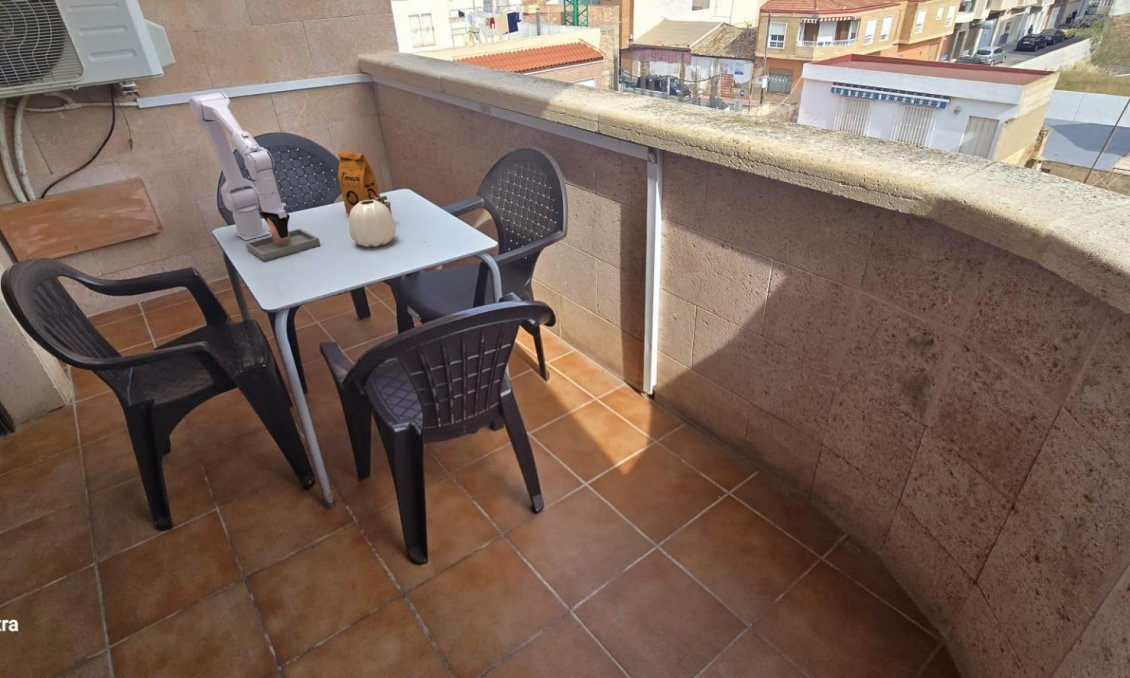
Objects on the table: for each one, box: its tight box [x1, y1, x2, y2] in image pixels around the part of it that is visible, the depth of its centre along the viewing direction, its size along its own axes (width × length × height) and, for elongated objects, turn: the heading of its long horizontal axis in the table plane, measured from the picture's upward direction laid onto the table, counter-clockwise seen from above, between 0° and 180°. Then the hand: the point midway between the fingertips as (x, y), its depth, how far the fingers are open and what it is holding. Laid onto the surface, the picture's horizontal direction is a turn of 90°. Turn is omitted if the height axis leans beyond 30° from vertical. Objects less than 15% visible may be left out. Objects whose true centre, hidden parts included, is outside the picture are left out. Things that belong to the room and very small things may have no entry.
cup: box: [266, 215, 291, 245], centre depth 180 cm, size 5×5×8 cm
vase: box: [348, 200, 397, 248], centre depth 182 cm, size 14×14×13 cm
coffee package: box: [337, 151, 381, 215], centre depth 204 cm, size 10×12×22 cm
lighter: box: [374, 195, 393, 216], centre depth 196 cm, size 8×3×10 cm, turn 143°
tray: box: [245, 228, 321, 263], centre depth 182 cm, size 14×18×2 cm
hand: (280, 235), depth 181 cm, fingers closed on cup, 5 cm apart
